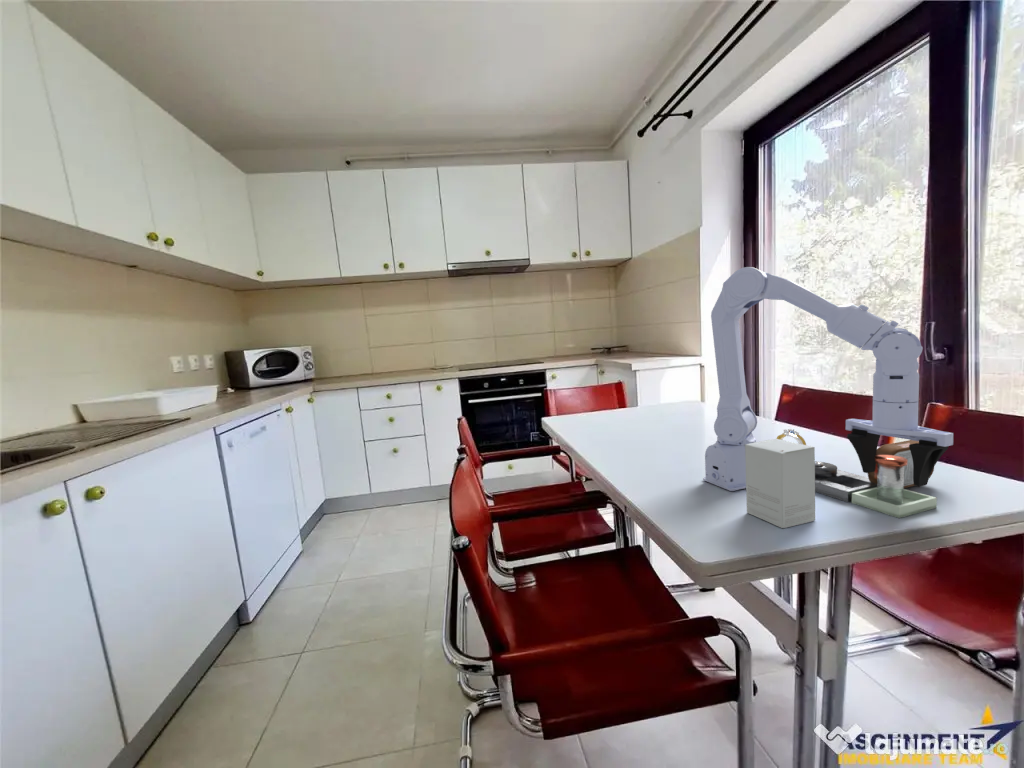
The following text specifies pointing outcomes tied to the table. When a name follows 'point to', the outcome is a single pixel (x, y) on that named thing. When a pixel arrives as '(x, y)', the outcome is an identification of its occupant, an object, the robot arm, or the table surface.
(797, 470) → the supplement box
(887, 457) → the jar with copper lid
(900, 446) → the tin
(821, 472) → the tensioner block
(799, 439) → the ring
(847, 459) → the table surface
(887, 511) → the tray
